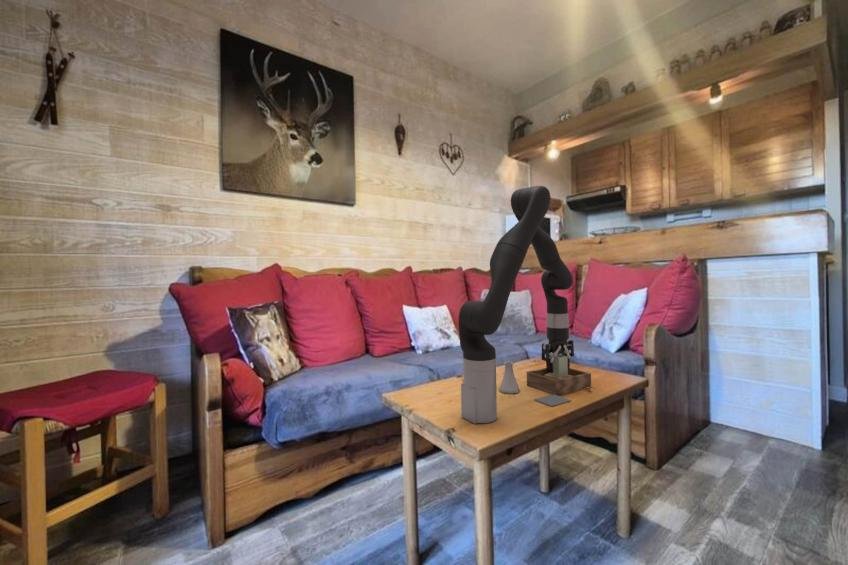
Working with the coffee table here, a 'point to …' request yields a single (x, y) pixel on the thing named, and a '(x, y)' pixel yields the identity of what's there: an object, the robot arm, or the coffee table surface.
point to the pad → (552, 400)
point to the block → (560, 366)
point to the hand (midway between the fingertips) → (558, 370)
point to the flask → (509, 380)
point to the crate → (558, 381)
